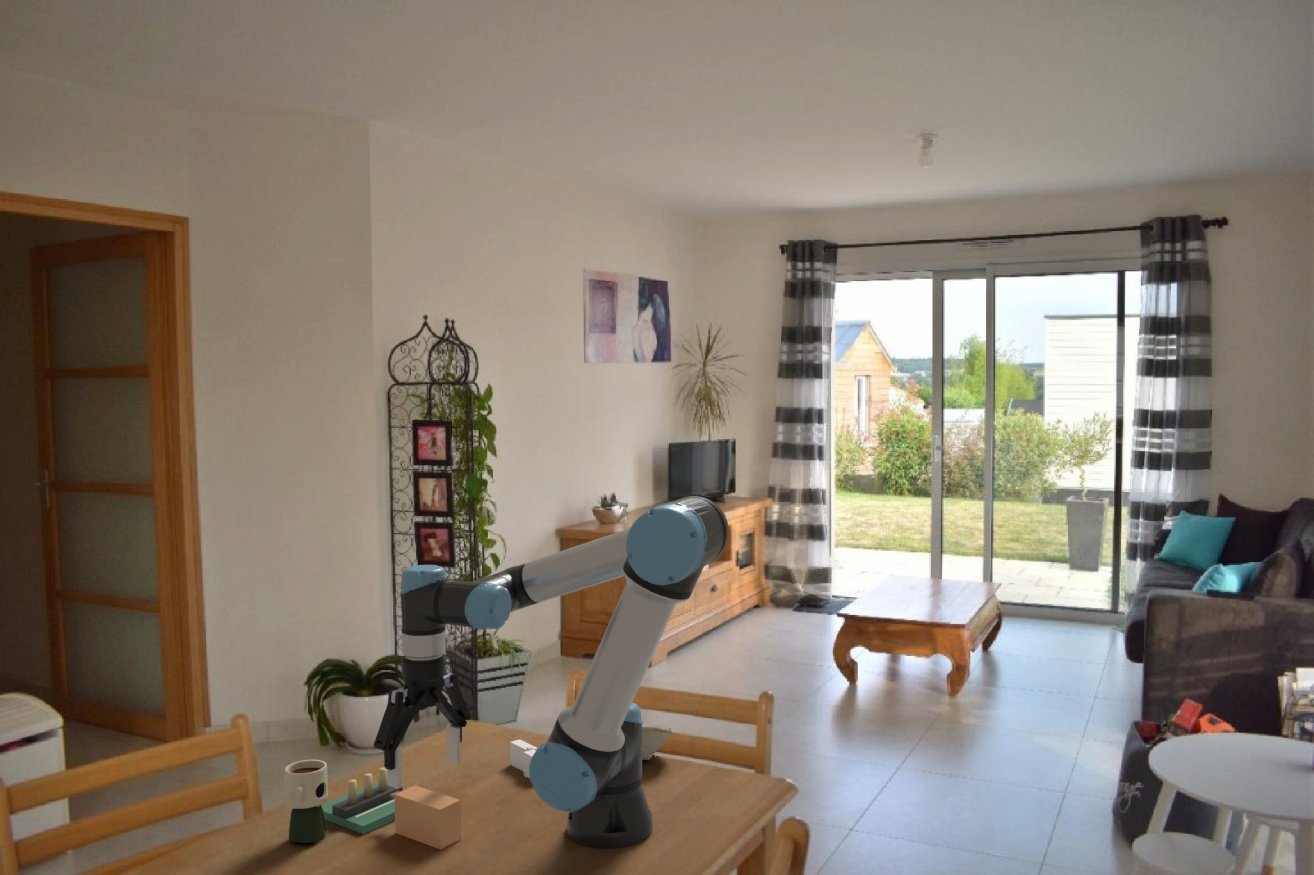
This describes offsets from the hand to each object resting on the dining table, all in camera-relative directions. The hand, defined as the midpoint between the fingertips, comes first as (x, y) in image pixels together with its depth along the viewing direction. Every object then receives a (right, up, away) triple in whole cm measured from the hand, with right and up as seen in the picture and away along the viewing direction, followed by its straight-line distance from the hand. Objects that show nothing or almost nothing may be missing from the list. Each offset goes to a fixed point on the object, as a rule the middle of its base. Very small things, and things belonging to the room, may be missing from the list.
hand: (424, 774), depth 182 cm
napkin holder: (+14, -10, +29) cm, 34 cm away
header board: (-13, -11, +11) cm, 20 cm away
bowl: (+37, -9, +36) cm, 52 cm away
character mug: (-20, -12, 0) cm, 23 cm away
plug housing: (-1, -11, +1) cm, 11 cm away
